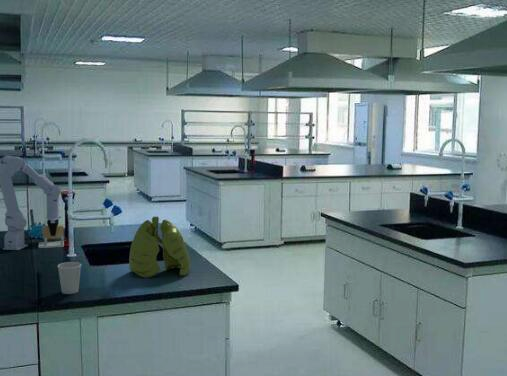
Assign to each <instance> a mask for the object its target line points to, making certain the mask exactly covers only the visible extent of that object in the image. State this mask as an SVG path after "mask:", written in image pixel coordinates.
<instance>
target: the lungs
mask: <svg viewBox="0 0 507 376" xmlns="http://www.w3.org/2000/svg"><path fill="white" fill-rule="evenodd" d="M159 220H160V218H159V216H152V218H151V221H150V220H148V219H146V220H144V221H143V223H142V224H141V225H140V226H139V227H138V229H137V230H136V233H135V234H134V236H133V240H132V242H131V245H130V250H129V259H128V261H129V262H128V264H129V266H128V267H129V271H131V272H134V273H135V274H136V275H138V276H139V277H142V278H150V277H153V276H155V275H157V274H158V273H159V272H160V270H161V266H160V264H158V260H157V256H158V253H159V252H160V245H159V244H161V246H162V257H163V263H164V269H165V270H169V268H170V269H172V268H173V267H176V268H180V270H179V275H180V276H182V277H184V276H183V275H185V276H186V275H188V274H189V272H190V270H191V260H190V254H189V250H188V248H187V244H186V243H185V241H184V237H183V235H182V234H181V232H180V231H179V230H178V229H179V228H177V226H175V225H174V224H173V222H171V221H170V220H168V219H163V220H162V221H161V223H160V228H159V222H160V221H159ZM159 229H160V231H161V238H162V239H161V238H160V235H159Z"/></svg>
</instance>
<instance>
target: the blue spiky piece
mask: <svg viewBox="0 0 507 376" xmlns="http://www.w3.org/2000/svg"><path fill="white" fill-rule="evenodd" d="M33 225H34V226H33ZM42 226H46V224H45V223H42V222H38V224H37V222H34V223H33V224H30V225H29V227H28V228H27V231H28V232H27V234H28V235H30V238H32V239H33V238H34V239H35V240H38V238H39V239H43V237H42Z"/></svg>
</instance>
